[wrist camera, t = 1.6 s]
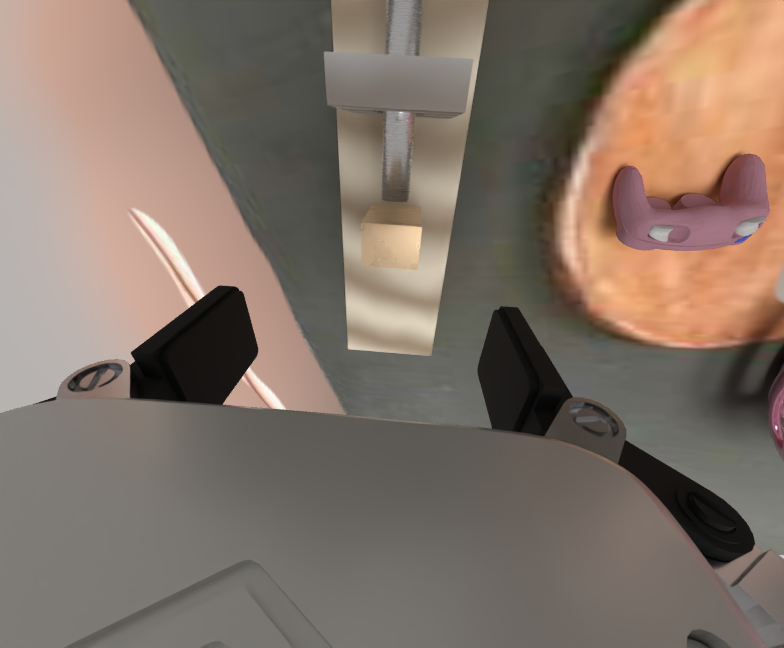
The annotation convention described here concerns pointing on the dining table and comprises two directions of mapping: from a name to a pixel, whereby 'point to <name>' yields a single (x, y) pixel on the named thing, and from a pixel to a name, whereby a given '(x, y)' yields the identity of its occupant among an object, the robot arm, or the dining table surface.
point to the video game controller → (692, 211)
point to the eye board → (429, 160)
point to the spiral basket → (777, 412)
